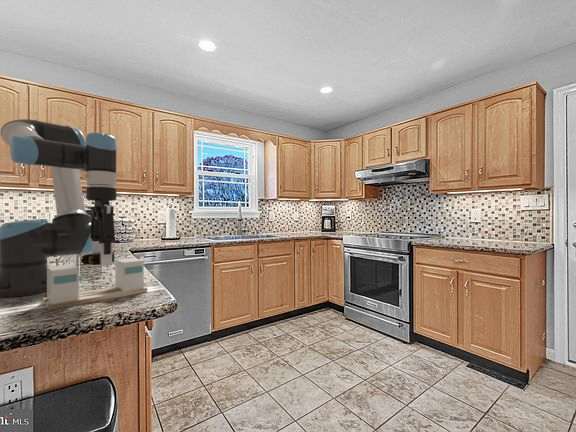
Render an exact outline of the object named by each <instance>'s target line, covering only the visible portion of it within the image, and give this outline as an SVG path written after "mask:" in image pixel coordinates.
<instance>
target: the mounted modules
mask: <svg viewBox="0 0 576 432" xmlns="http://www.w3.org/2000/svg"><path fill="white" fill-rule="evenodd" d="M144 261H145V260H143V259H140V258H136V257H133V258H131V257H130V258H122V259H121V258H119V259H114V264H115V265H114V267H115V268H114V269H115V270H114V273H115V275H114V286H115V287H116V288H117V287H118V288H120V289H121V291H123V292H124V291H130V290H135V289H141V288H144V287H145V286H144V283H145V280H144V279H145V278H144V275H145V274H144ZM79 271H80V269H79V267H78V266H77V265H75V264H73V263H72V264H71V263H70V264H64V265H63V264H61V265H52V266H48V267H47V291H46V297H47V299H49V300H50V303H51V304H56V303H61V302H67V301H73V300H78V299H79V292H80V288H79V287H80V285H79V283H80V279H79V276H80V273H79Z"/></svg>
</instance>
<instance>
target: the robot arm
mask: <svg viewBox="0 0 576 432" xmlns="http://www.w3.org/2000/svg"><path fill="white" fill-rule="evenodd" d="M0 136H1V139H2V141H4V143H5V144H7V146H9V149H10V150H9V152H10V153H9V154H10V159H11V160H12V162H14V163H15V164H21V165H22V164H23V165H28V166H42V167H50V168H51V177H52V185H53V193H54V200H55V209H56V211H55V212H56V215H55V216H54V217H53V218H52V220H51V221H52V222H49V221H48V220H47V218H40V219H39V218H37V219H28V220H20V221H19V220H18V221H11V222H5V223H3V224H2V225H0V298H15V297H24V296H29V295H34V294H40V293H44V292H47V267H49V266H48V258H50V257H62V256H73V255H74V256H75V255H79V256H80V255H86V254H92V253H98V252H101V265H100V267H108V266H113V263H112V252H113V242H115V240H116V236H115V219H114V211H115V210H114V209H115V207H114V205H110V201H111V202H114V201H116V200H117V188H115V187H117V186H118V185H117V184H118V183H117V179H118V177H117V176H118V175H117V150H118V149H117V141H116V140H117V139H116V138H115V137H114V136H113V135H110V134H108V133H101V132H90V133H88V134H86V137H85V136H84V134H83V132H82V131H81V130H80V129H78V128H77V127H72V126H69V125H61V124H55V123H51V122H46V121H41V120H36V119H30V118H29V119H26V118H24V119H23V118H22V119H14V120H11V121H10V120H9V121H8V122H6V123H4V125H2V127H1V129H0ZM80 171H82V172H86V174H84V175H83V177H84V178H85V179H86V185H87V186H88V187H86V188H85V189H86V190H85V191H86V197H85V198H86V200H87V201H94V206H91V207H90V213H91V215H90V214H88V213H87V212H86V206H85V202H84V201H85V200H84V194H83V189H82V181H81V173H80Z"/></svg>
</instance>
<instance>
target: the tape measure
mask: <svg viewBox="0 0 576 432" xmlns="http://www.w3.org/2000/svg"><path fill="white" fill-rule="evenodd" d="M80 261H81V263H82V264H83V265H85V266H87V265H90V266H101V252H98V253H93V252H91V253H87V254H83V256H82V258H81V259H80ZM113 263H115V252H113V251H112V264H113Z"/></svg>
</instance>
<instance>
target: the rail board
mask: <svg viewBox="0 0 576 432" xmlns="http://www.w3.org/2000/svg"><path fill="white" fill-rule="evenodd" d="M147 292H148V288H147V286H144V288H141V289H135V290H130V291H124V292H123V291H121V289H120V288H118V287H117V288H116V287H115V285H114V286H109V287H103V288H97V289H92V290H91V289H90V290H84V291H79V299H78V300H73V301H67V302H61V303H56V304H51V303H50V300H49V299H47V296H46V297H43V298H42V303H43V304H44V306H45V308H46V309H47V310H48V311H51V310H57V309H58V310H59V309H63V308H68V307H72V306H78V305H83V304H89V303H94V302H101V301H105V300H109V299H117V298H122V297H126V296H132V295H138V294H142V293H147Z"/></svg>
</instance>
